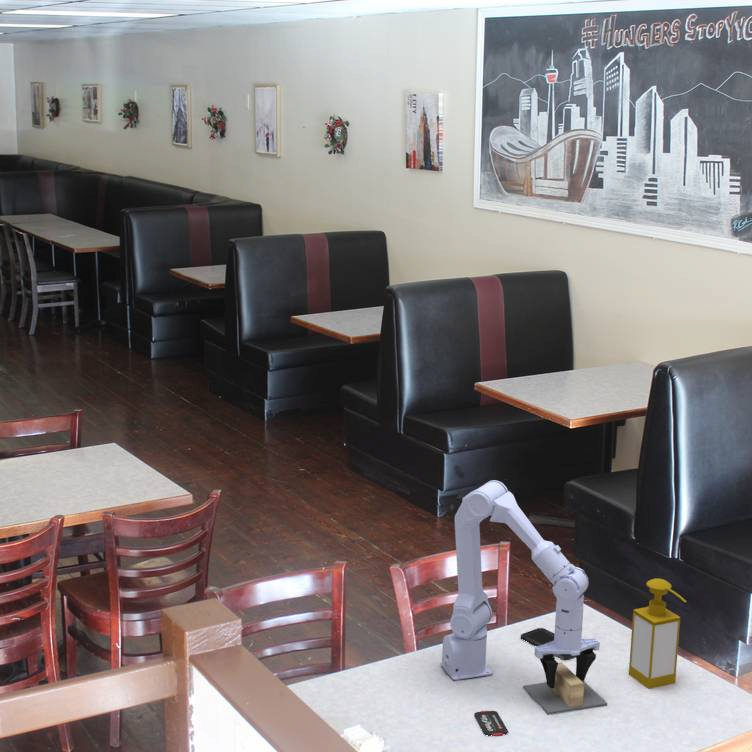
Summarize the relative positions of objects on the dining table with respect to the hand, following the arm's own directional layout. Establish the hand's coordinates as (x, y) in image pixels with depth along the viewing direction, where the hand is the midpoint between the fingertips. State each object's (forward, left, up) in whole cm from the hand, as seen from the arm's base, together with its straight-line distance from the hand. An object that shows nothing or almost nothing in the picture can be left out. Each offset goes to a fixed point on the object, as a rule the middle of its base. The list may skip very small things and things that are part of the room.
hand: (565, 684), depth 236 cm
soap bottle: (+23, -1, -3) cm, 23 cm away
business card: (-20, -6, -3) cm, 21 cm away
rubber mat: (0, 0, -3) cm, 3 cm away
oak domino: (0, 0, -2) cm, 2 cm away
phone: (+9, +23, -3) cm, 25 cm away
